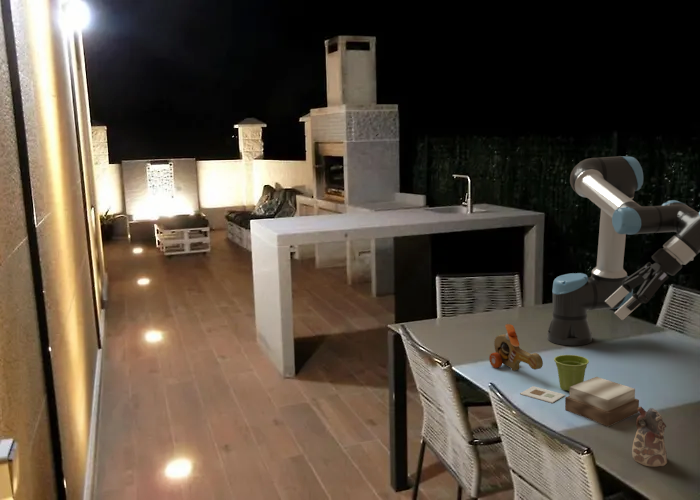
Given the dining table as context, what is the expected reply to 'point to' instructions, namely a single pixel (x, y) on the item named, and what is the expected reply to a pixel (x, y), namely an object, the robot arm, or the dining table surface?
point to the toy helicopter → (512, 352)
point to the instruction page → (542, 394)
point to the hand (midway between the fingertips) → (612, 310)
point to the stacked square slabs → (602, 401)
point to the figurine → (649, 439)
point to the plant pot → (570, 370)
